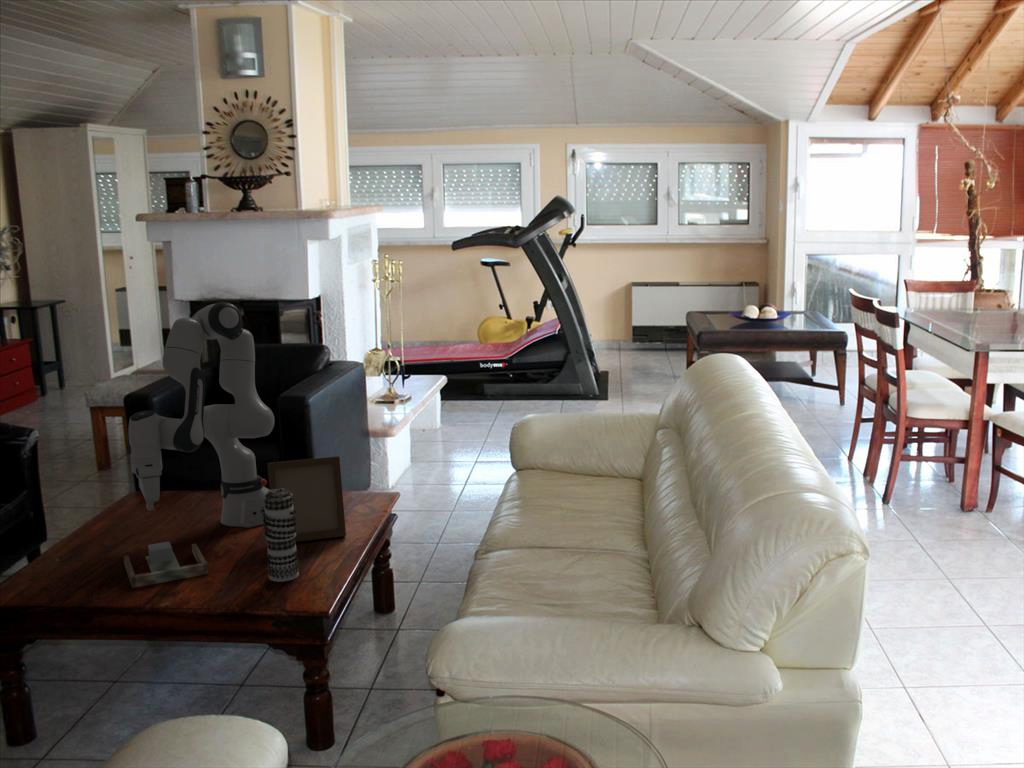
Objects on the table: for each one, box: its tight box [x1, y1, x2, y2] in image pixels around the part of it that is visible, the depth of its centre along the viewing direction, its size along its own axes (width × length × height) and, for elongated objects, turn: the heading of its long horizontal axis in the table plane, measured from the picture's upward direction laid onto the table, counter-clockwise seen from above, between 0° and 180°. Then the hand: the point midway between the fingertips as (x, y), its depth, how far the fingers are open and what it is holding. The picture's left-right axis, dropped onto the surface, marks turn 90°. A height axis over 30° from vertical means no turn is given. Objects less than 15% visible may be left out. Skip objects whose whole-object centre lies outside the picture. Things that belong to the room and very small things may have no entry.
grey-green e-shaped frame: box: [123, 543, 209, 589], centre depth 288 cm, size 20×24×3 cm
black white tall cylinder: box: [262, 488, 300, 583], centre depth 277 cm, size 9×9×25 cm
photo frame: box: [266, 455, 347, 543], centre depth 310 cm, size 15×22×25 cm
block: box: [147, 541, 174, 564], centre depth 294 cm, size 6×6×4 cm
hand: (150, 509), depth 302 cm, fingers closed
